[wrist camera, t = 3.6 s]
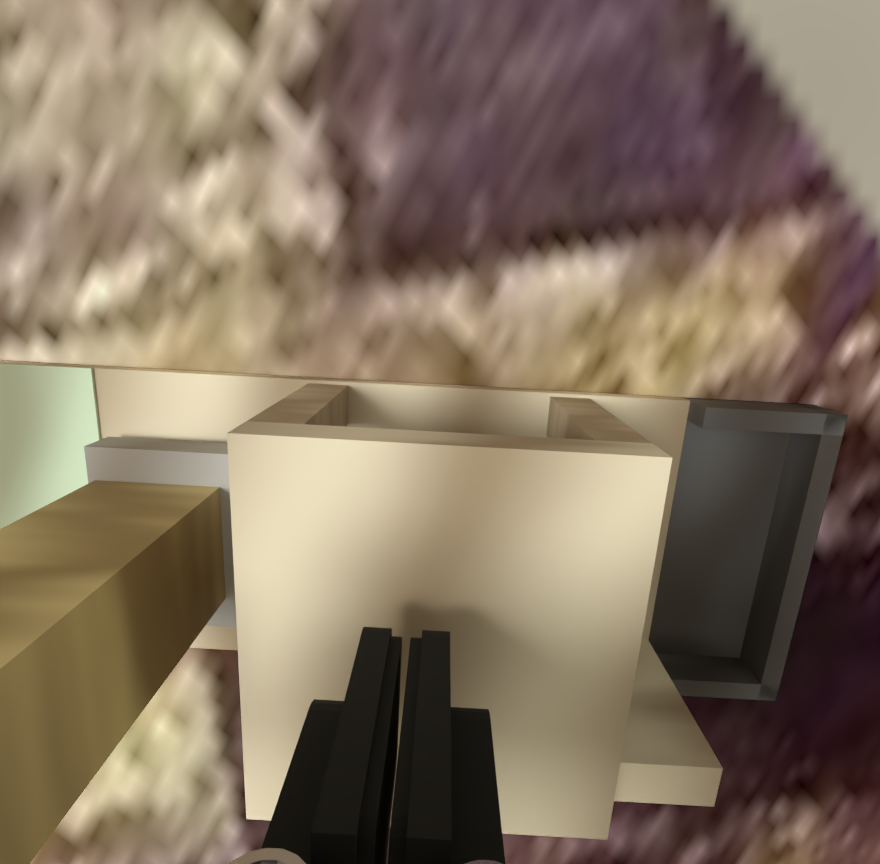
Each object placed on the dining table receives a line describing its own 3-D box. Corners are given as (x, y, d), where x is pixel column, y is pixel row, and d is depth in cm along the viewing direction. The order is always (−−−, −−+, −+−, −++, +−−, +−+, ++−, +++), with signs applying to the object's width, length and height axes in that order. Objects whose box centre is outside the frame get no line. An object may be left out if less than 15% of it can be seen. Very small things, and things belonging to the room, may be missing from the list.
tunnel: (812, 404, 16) (1043, 473, 10) (750, 669, 19) (903, 859, 12) (-153, 351, 16) (-533, 386, 10) (-92, 622, 19) (-365, 787, 12)
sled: (651, 466, 16) (1024, 776, 6) (625, 628, 17) (885, 1113, 7) (108, 436, 16) (-513, 690, 6) (126, 599, 17) (-344, 1042, 7)
